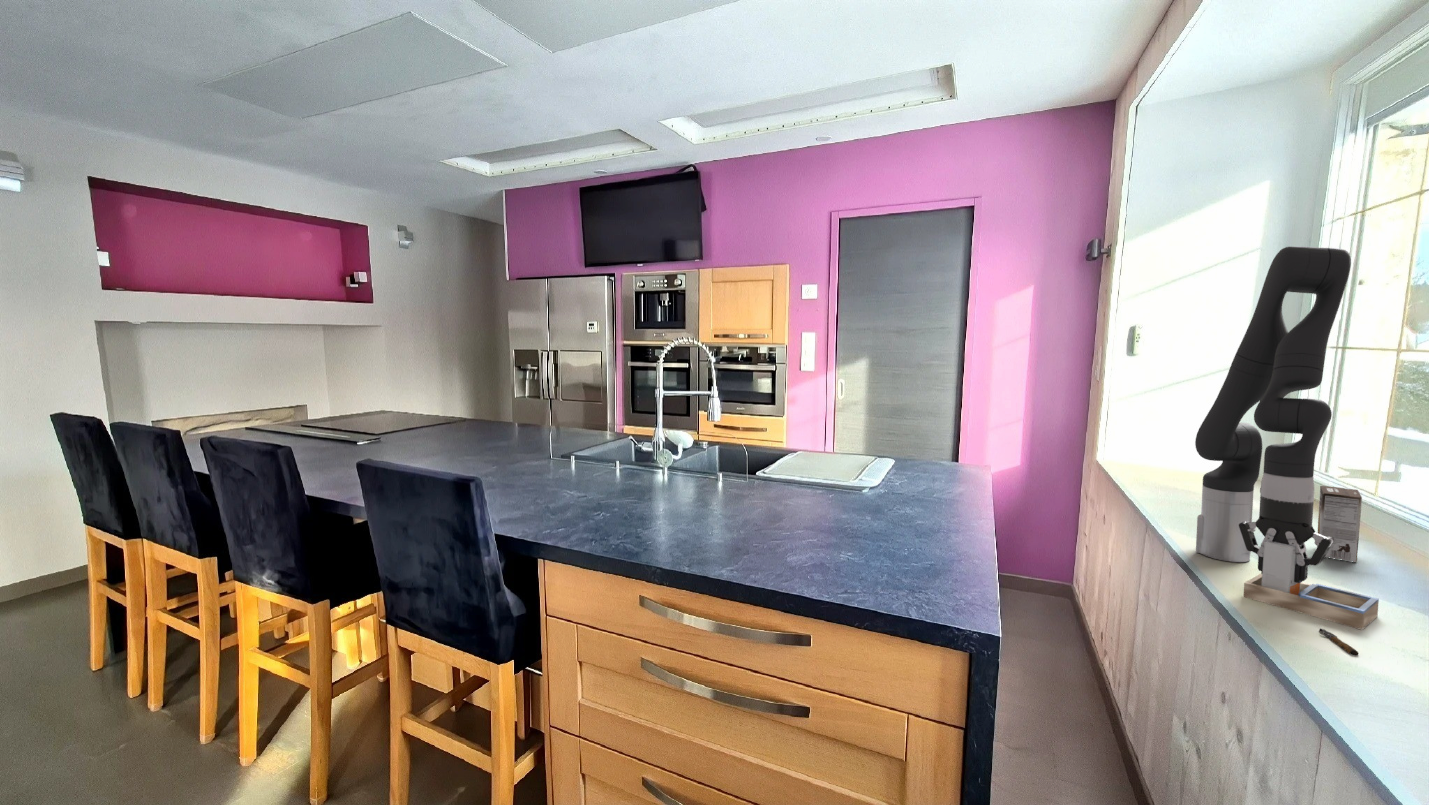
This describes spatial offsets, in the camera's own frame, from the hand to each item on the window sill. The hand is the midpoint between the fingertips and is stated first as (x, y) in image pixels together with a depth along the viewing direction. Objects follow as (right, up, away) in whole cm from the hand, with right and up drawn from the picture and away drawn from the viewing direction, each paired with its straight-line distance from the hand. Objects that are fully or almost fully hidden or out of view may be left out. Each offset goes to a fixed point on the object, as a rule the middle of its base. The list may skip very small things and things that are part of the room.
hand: (1281, 577), depth 113 cm
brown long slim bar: (-7, -7, -16) cm, 19 cm away
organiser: (+2, -5, -3) cm, 6 cm away
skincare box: (0, -5, 0) cm, 5 cm away
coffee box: (+36, -2, +22) cm, 42 cm away
